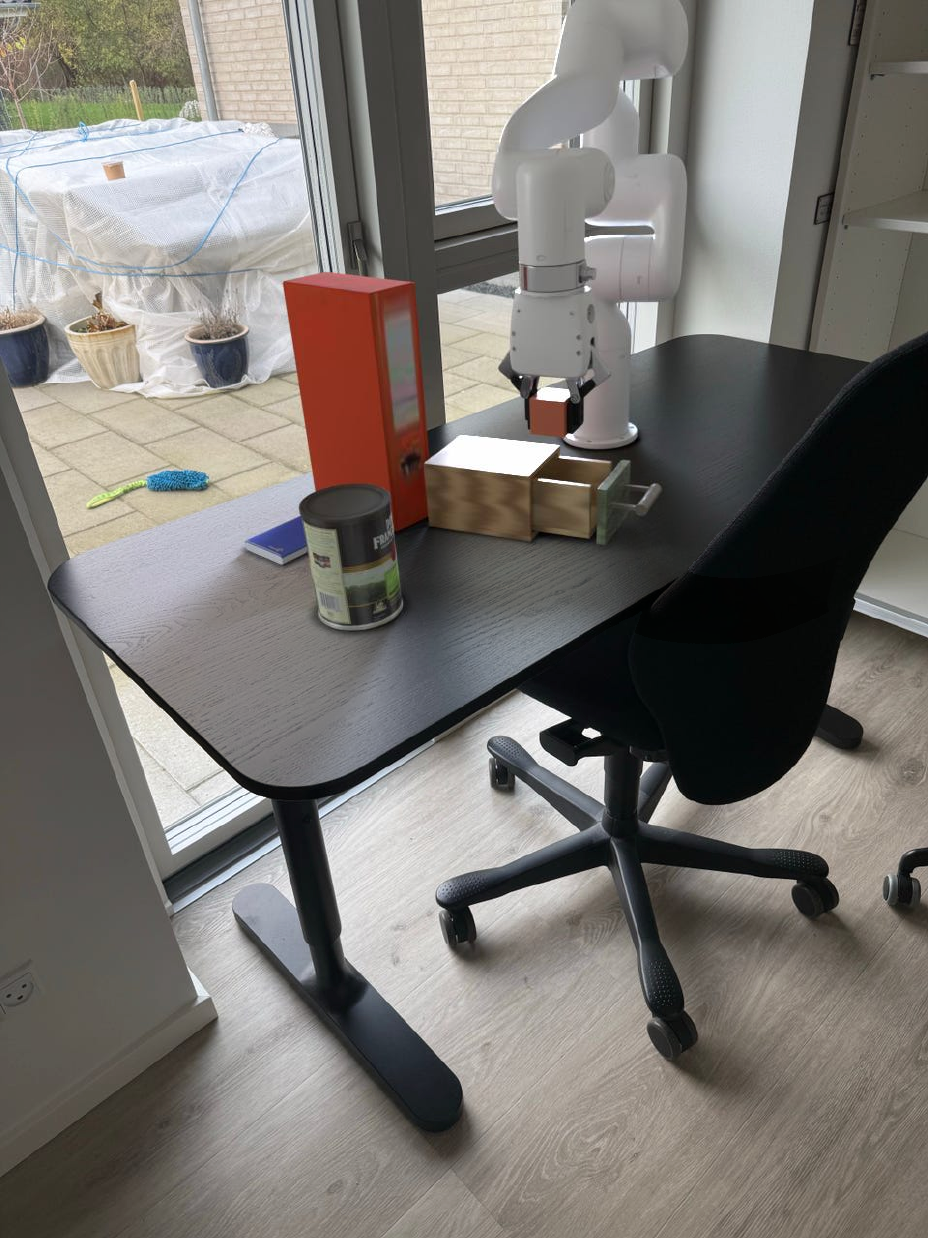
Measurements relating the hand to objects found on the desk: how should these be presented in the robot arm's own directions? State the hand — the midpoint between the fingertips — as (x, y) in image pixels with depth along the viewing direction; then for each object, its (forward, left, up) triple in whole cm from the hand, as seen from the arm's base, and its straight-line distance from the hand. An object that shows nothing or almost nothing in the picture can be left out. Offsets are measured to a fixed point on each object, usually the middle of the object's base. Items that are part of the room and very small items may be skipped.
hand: (554, 426), depth 110 cm
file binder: (+1, -28, -15) cm, 32 cm away
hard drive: (+13, -33, -15) cm, 39 cm away
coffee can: (+26, -15, -15) cm, 34 cm away
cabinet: (-2, -10, -15) cm, 18 cm away
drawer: (-2, +3, -14) cm, 15 cm away
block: (0, 0, 0) cm, 0 cm away
